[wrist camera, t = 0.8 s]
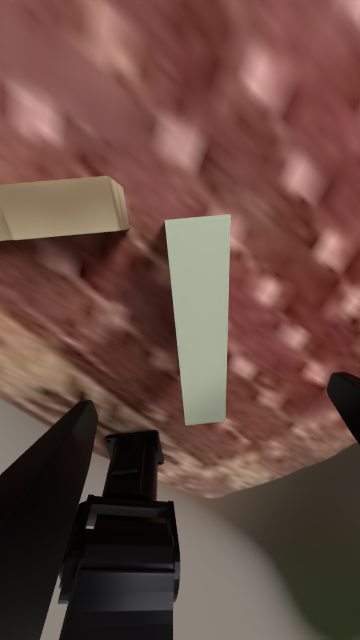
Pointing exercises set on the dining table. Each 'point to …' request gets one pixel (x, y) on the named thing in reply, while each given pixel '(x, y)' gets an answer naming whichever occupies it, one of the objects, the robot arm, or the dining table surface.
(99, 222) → the birch rail
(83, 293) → the dining table surface
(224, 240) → the pale green plank
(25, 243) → the dining table surface
